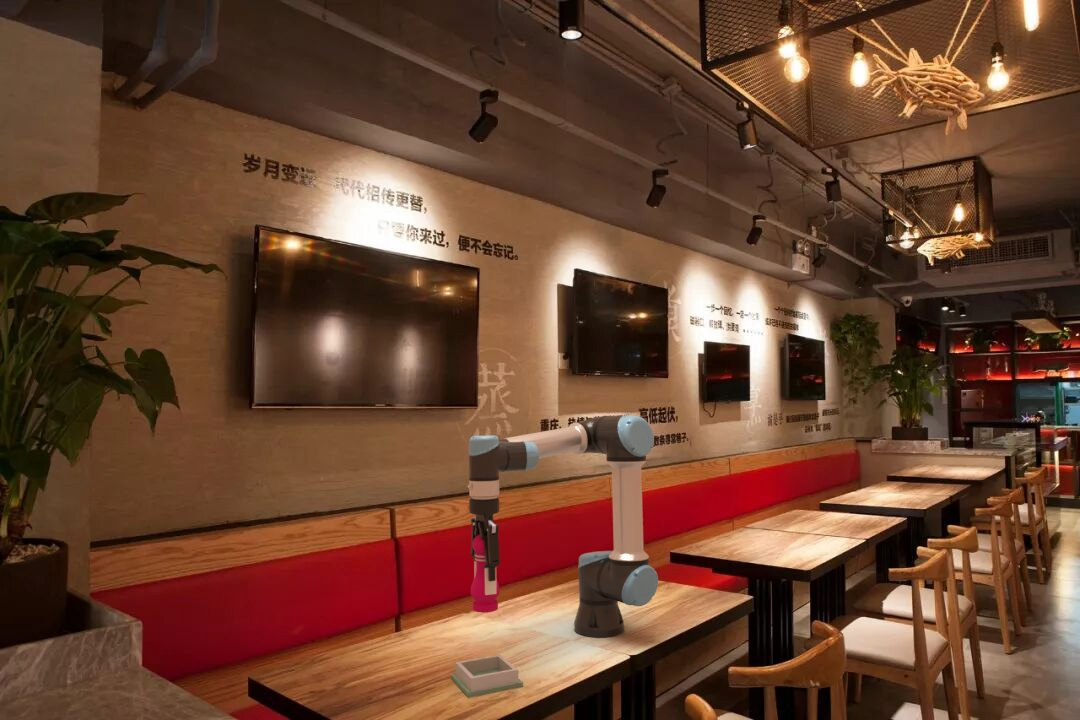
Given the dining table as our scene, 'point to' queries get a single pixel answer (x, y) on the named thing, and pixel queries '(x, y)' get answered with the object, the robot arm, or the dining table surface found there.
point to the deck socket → (486, 676)
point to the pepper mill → (482, 582)
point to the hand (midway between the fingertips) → (485, 590)
